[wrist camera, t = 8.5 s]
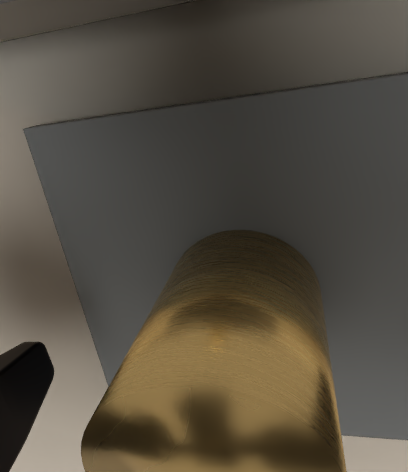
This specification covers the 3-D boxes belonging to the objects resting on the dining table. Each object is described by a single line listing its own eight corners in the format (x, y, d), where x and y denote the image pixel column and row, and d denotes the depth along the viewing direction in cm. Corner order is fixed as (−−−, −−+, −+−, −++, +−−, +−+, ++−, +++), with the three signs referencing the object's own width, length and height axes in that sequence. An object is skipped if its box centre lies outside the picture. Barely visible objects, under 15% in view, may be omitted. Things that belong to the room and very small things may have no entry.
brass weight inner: (323, 358, 10) (350, 585, 6) (184, 354, 11) (116, 545, 7) (319, 224, 9) (351, 396, 4) (158, 234, 10) (47, 380, 5)
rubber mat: (429, 424, 11) (436, 442, 11) (125, 404, 14) (118, 418, 13) (476, 62, 7) (491, 62, 7) (37, 125, 10) (22, 129, 9)
